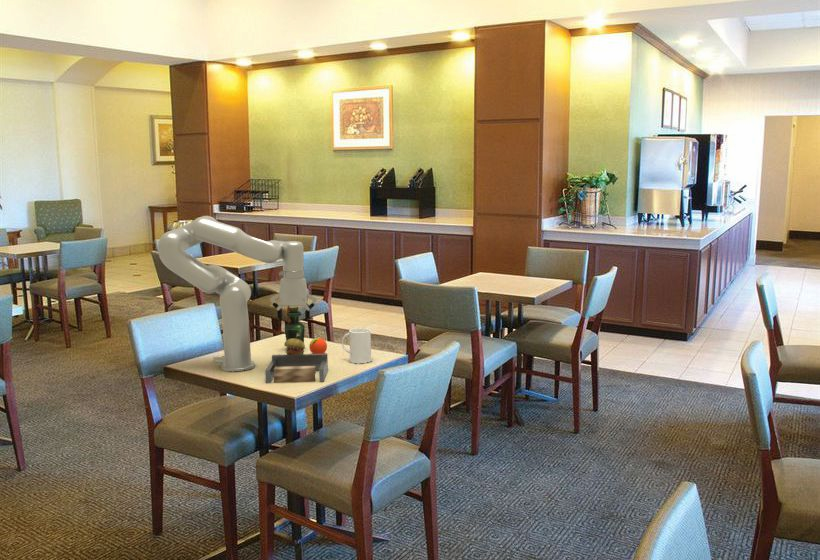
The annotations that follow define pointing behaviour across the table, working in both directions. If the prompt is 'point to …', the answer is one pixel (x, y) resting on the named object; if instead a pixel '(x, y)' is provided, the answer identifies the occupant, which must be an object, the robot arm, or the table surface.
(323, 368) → the frame
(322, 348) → the clementine
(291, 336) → the potion bottle
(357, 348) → the mug
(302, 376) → the light brown long block
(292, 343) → the burger with flag pick
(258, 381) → the table surface
